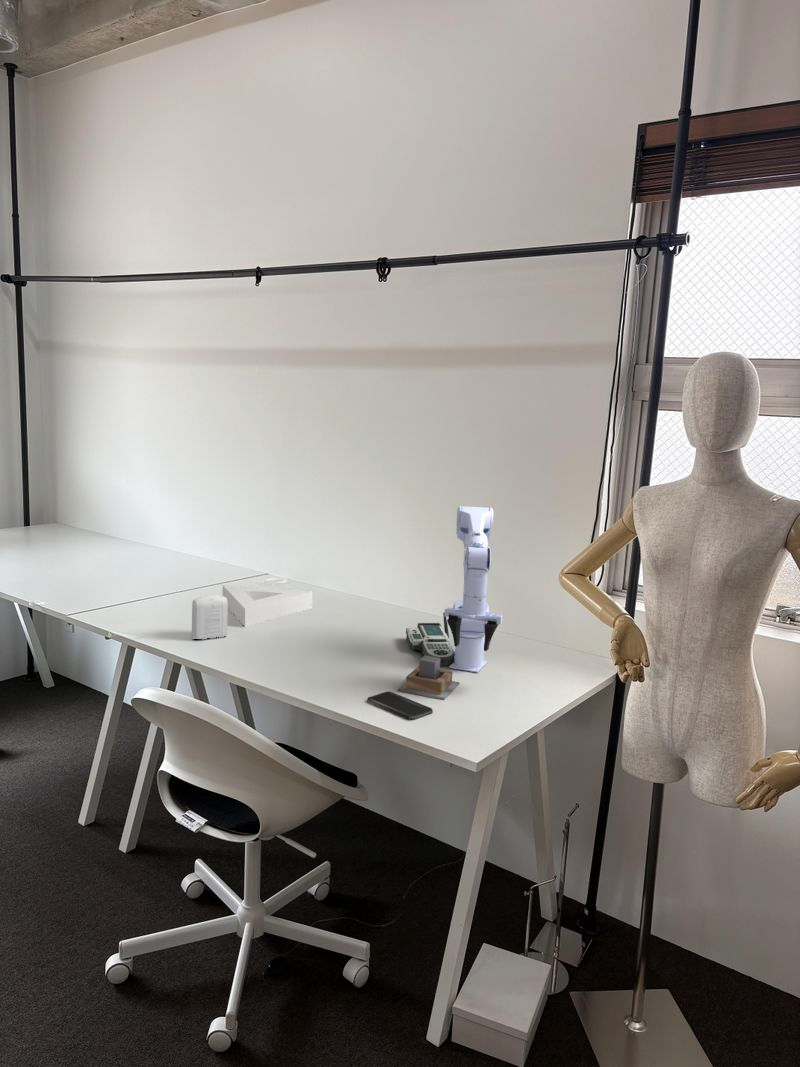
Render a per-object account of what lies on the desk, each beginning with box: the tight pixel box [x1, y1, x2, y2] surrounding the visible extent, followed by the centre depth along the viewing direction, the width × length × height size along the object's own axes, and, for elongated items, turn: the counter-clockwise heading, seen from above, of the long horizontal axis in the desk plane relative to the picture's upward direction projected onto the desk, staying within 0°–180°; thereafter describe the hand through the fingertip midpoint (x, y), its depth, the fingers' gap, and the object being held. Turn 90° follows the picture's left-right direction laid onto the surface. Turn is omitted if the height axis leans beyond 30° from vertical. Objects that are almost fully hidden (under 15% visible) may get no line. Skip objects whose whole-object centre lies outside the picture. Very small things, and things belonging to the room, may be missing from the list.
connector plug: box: [418, 655, 441, 680], centre depth 208 cm, size 4×4×7 cm
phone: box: [366, 691, 433, 721], centre depth 196 cm, size 8×1×15 cm
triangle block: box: [222, 584, 313, 628], centre depth 263 cm, size 30×26×6 cm
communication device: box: [405, 611, 455, 667], centre depth 235 cm, size 12×24×9 cm, turn 9°
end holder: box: [397, 665, 460, 701], centre depth 208 cm, size 12×12×4 cm
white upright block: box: [191, 594, 229, 640], centre depth 239 cm, size 10×4×12 cm, turn 123°
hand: (471, 647), depth 211 cm, fingers open, 7 cm apart
